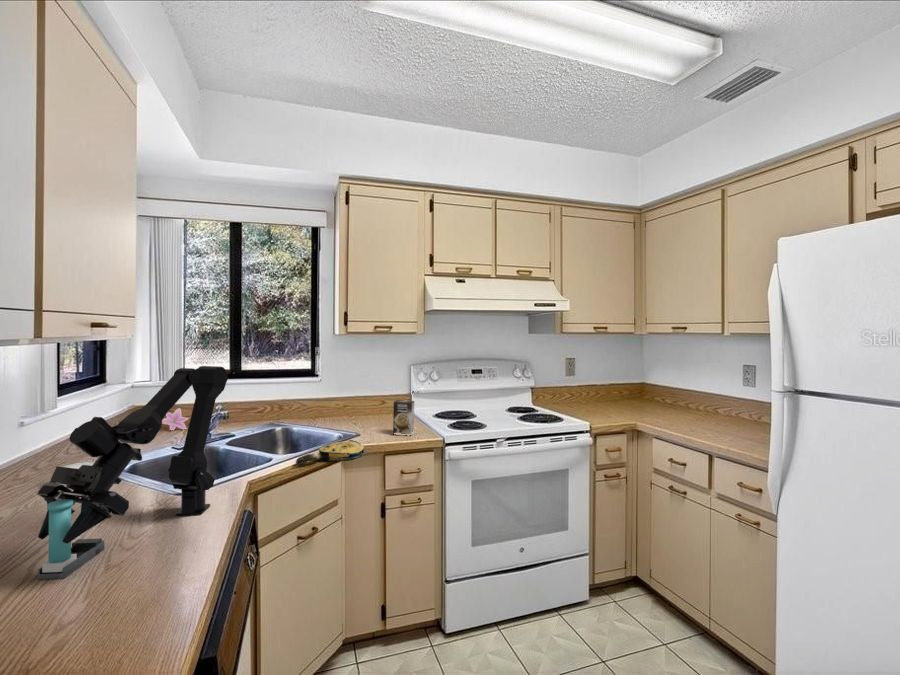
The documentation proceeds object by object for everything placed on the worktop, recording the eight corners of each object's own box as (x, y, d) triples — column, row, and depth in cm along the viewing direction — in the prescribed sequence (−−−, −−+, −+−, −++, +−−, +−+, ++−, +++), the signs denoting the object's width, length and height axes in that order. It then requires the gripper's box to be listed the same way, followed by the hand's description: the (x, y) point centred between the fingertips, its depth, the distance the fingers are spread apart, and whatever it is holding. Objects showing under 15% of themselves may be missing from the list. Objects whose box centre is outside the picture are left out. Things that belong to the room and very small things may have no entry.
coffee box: (392, 435, 218) (392, 401, 218) (395, 432, 224) (396, 399, 224) (411, 436, 217) (411, 402, 217) (414, 433, 223) (414, 400, 223)
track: (80, 550, 101) (80, 537, 101) (104, 549, 102) (104, 536, 102) (37, 579, 89) (37, 565, 89) (64, 578, 90) (64, 564, 90)
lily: (154, 434, 217) (161, 418, 215) (159, 421, 227) (165, 404, 225) (182, 440, 223) (189, 424, 221) (186, 426, 233) (192, 410, 231)
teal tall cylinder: (56, 562, 93) (56, 499, 93) (77, 561, 94) (78, 499, 94) (41, 572, 89) (41, 506, 89) (63, 571, 90) (63, 506, 90)
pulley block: (287, 445, 170) (355, 434, 192) (286, 460, 171) (354, 447, 193) (306, 459, 161) (376, 445, 182) (305, 475, 162) (374, 459, 183)
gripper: (47, 445, 98) (-18, 517, 87) (116, 452, 93) (56, 529, 82) (85, 471, 105) (30, 540, 95) (150, 479, 101) (99, 553, 90)
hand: (52, 540), depth 90 cm, fingers open, 6 cm apart
